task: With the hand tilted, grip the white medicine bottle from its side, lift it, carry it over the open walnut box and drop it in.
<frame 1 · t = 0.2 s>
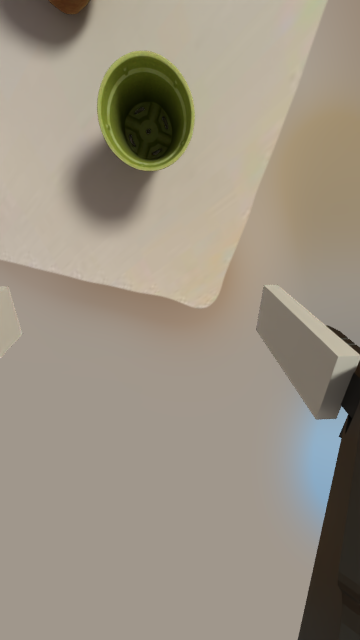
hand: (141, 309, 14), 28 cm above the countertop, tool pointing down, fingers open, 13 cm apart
plant pot: (149, 131, 34), on the countertop
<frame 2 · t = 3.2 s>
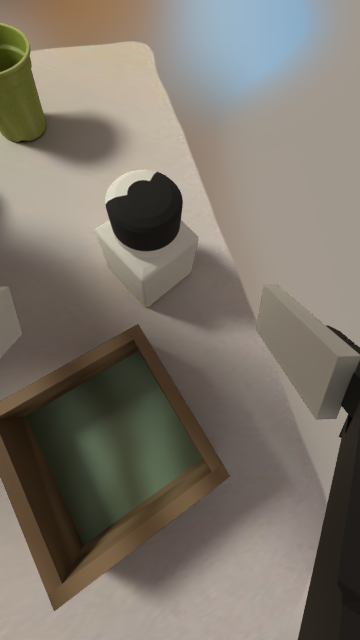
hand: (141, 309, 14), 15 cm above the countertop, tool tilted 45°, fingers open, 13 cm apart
walnut drop box: (115, 436, 26), on the countertop
medicine bottle: (150, 270, 32), on the countertop
plant pot: (24, 128, 37), on the countertop
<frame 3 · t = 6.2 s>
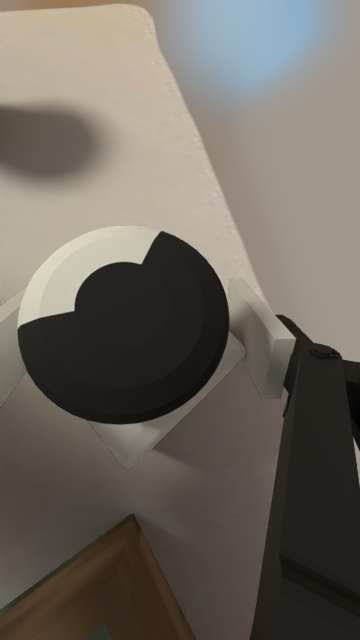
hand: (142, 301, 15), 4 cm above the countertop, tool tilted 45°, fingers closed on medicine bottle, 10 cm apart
medicine bottle: (147, 367, 19), on the countertop, touching gripper
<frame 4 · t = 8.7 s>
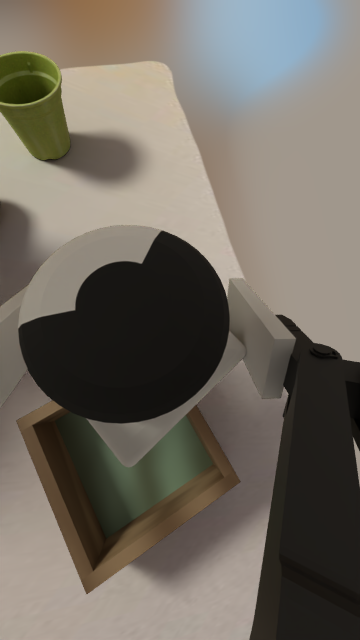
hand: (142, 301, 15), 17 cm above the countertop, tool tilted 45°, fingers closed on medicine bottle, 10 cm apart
walnut drop box: (134, 441, 28), on the countertop
medicine bottle: (147, 367, 19), point 12 cm above the countertop, touching gripper
plant pot: (49, 146, 39), on the countertop
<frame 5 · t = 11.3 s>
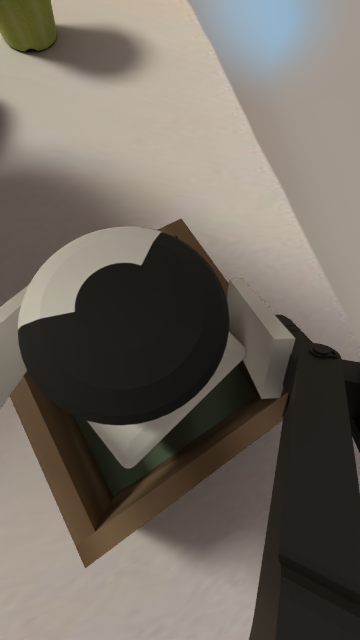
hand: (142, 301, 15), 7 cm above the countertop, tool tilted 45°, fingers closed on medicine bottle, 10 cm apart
walnut drop box: (148, 370, 21), on the countertop
medicine bottle: (147, 367, 19), point 2 cm above the countertop, touching gripper
plant pot: (31, 39, 32), on the countertop
when the fingers open (7 cm above the countertop, at t = 11.6 s): medicine bottle drops 2 cm, resting on walnut drop box.
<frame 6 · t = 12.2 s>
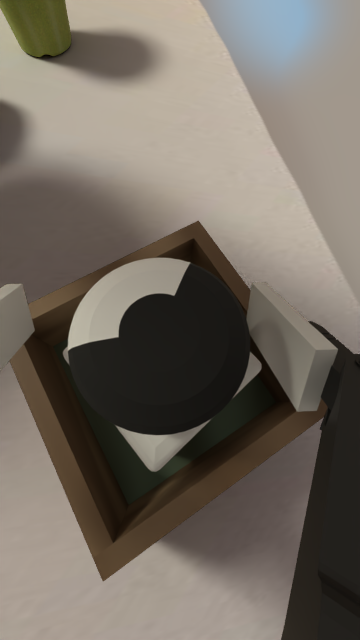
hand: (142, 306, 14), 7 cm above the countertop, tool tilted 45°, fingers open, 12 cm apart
walnut drop box: (163, 375, 20), on the countertop
medicine bottle: (165, 375, 20), point 1 cm above the countertop, touching walnut drop box
plant pot: (46, 45, 33), on the countertop
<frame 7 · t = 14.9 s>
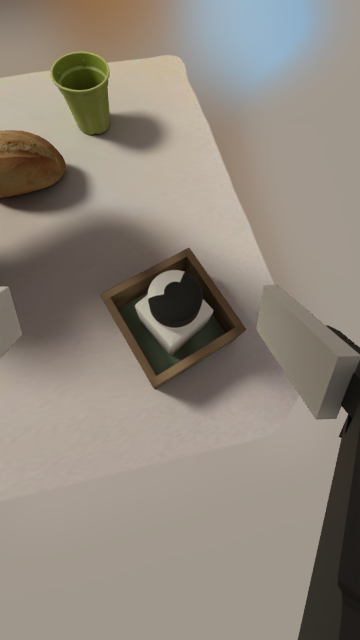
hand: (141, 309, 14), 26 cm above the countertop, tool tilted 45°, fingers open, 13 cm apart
walnut drop box: (171, 324, 41), on the countertop
medicine bottle: (173, 323, 40), point 1 cm above the countertop, touching walnut drop box
plant pot: (94, 124, 51), on the countertop
bread roll: (27, 184, 47), on the countertop
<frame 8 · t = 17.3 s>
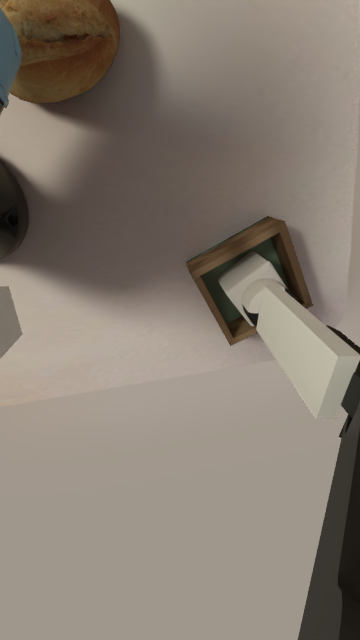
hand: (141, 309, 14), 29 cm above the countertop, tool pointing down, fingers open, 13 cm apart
walnut drop box: (243, 277, 44), on the countertop
medicine bottle: (245, 279, 43), point 1 cm above the countertop, touching walnut drop box
bread roll: (61, 57, 31), on the countertop
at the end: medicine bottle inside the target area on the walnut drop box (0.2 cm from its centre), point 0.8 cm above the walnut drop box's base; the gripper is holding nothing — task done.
